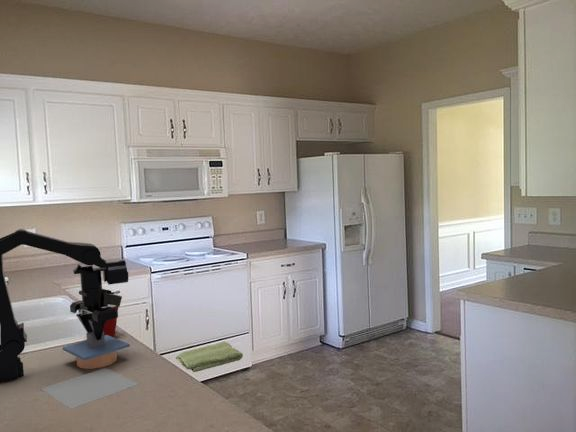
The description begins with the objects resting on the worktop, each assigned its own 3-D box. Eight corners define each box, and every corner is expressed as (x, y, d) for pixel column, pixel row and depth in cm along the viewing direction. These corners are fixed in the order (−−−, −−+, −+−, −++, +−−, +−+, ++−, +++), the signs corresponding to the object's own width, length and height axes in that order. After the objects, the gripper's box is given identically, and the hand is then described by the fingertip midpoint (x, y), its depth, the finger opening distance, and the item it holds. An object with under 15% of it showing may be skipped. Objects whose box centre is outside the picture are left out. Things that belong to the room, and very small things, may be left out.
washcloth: (173, 361, 154) (173, 351, 154) (227, 349, 163) (227, 339, 163) (188, 375, 143) (187, 364, 143) (245, 361, 152) (245, 351, 151)
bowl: (88, 374, 145) (86, 357, 144) (71, 365, 152) (69, 349, 152) (123, 363, 153) (122, 346, 152) (105, 355, 160) (104, 339, 160)
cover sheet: (84, 360, 142) (82, 343, 142) (62, 349, 152) (61, 334, 152) (129, 346, 152) (128, 330, 152) (107, 337, 162) (106, 322, 162)
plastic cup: (118, 330, 185) (116, 298, 184) (125, 338, 176) (123, 304, 175) (86, 336, 180) (84, 303, 179) (92, 345, 170) (89, 309, 169)
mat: (70, 412, 122) (70, 408, 122) (40, 392, 134) (40, 388, 134) (138, 387, 135) (138, 384, 135) (105, 371, 147) (105, 367, 147)
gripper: (132, 285, 150) (136, 337, 151) (102, 278, 163) (105, 326, 164) (96, 293, 142) (100, 348, 143) (67, 284, 155) (71, 335, 156)
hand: (95, 338), depth 152 cm, fingers open, 4 cm apart
